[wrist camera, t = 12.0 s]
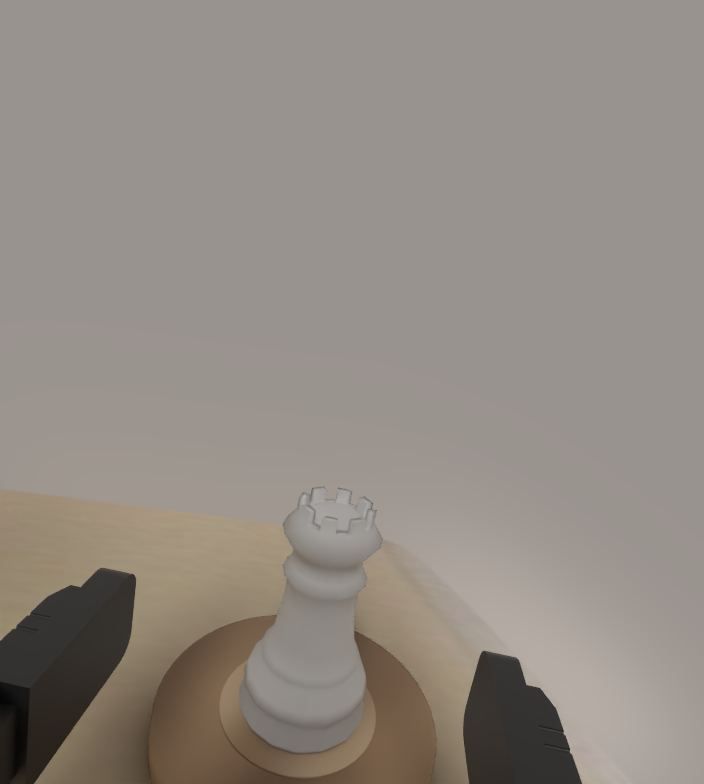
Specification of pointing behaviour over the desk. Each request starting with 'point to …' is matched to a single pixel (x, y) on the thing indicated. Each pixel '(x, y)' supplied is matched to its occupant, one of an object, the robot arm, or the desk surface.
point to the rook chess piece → (314, 630)
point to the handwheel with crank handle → (254, 755)
